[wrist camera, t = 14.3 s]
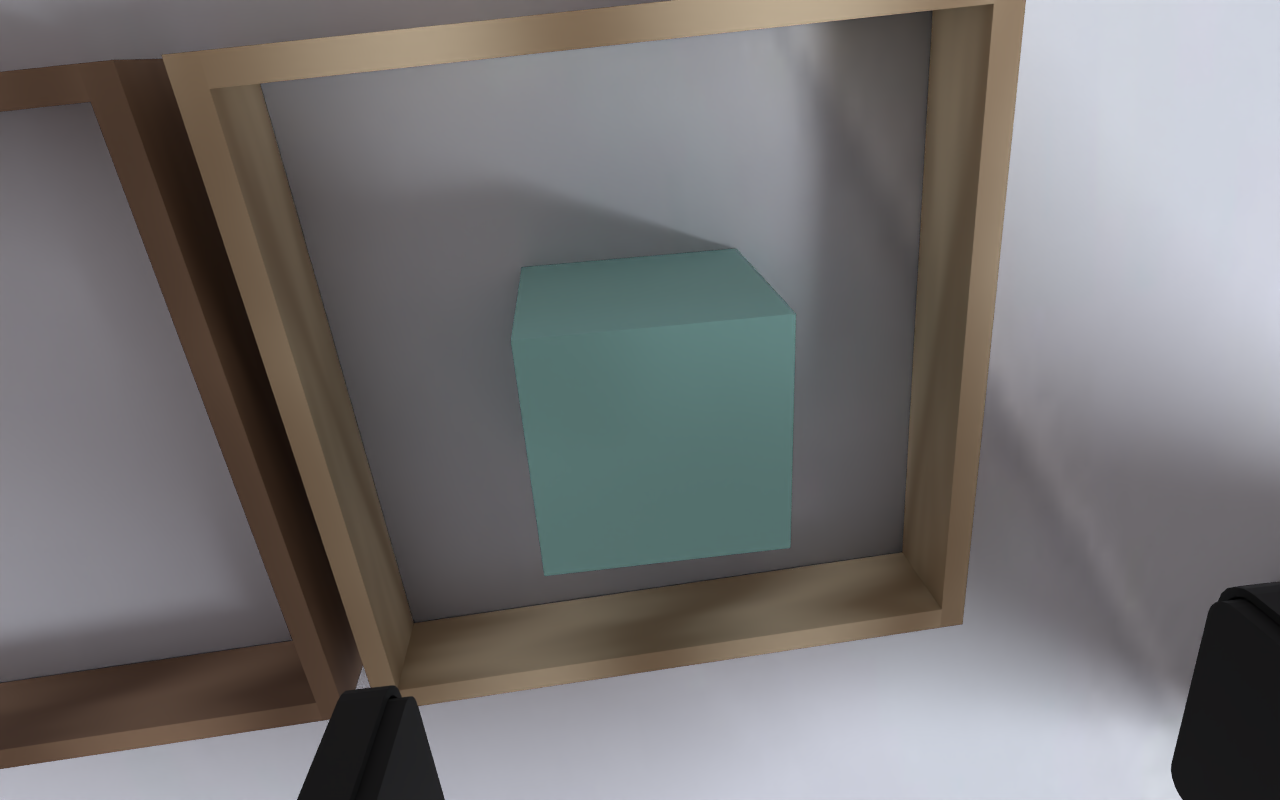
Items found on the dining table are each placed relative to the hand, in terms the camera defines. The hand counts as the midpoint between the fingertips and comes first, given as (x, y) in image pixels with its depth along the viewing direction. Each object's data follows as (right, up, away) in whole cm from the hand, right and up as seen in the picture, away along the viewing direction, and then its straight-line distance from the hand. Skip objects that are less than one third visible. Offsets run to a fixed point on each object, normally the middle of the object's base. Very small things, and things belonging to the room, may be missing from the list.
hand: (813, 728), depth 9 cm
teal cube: (-2, +5, +10) cm, 11 cm away
